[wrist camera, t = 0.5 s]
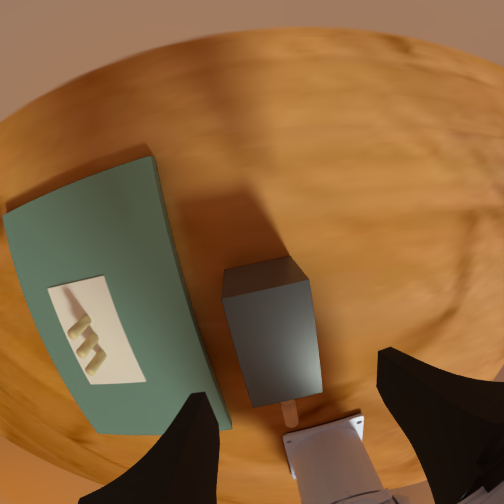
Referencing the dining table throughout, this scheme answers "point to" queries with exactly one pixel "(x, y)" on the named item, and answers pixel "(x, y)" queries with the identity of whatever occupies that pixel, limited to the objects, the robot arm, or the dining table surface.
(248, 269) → the block
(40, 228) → the board
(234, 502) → the dining table surface
